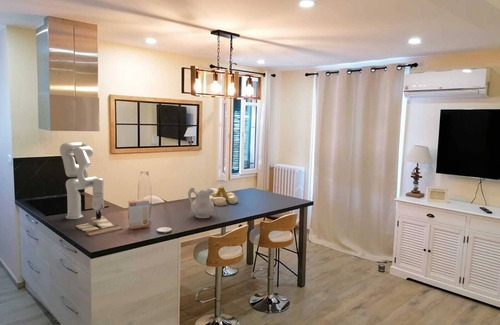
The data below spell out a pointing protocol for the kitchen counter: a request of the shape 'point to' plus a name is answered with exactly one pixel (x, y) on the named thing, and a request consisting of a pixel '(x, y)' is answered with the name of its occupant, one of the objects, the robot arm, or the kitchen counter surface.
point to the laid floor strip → (103, 230)
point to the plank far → (102, 222)
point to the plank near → (87, 227)
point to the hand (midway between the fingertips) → (98, 218)
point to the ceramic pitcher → (201, 203)
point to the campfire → (223, 197)
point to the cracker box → (138, 214)
